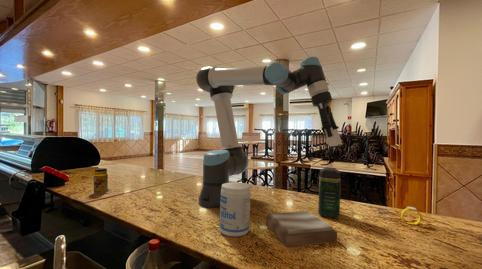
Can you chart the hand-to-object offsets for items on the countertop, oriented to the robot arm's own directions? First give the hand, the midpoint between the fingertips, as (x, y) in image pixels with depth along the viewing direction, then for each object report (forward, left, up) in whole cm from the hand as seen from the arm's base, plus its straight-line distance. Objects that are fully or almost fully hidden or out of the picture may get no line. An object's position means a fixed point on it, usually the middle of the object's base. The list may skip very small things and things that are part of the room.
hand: (336, 145), depth 85 cm
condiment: (-53, -98, -28) cm, 115 cm away
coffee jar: (-2, -1, -28) cm, 28 cm away
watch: (+12, +23, -28) cm, 38 cm away
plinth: (+10, -21, -28) cm, 36 cm away
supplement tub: (+5, -41, -28) cm, 50 cm away
